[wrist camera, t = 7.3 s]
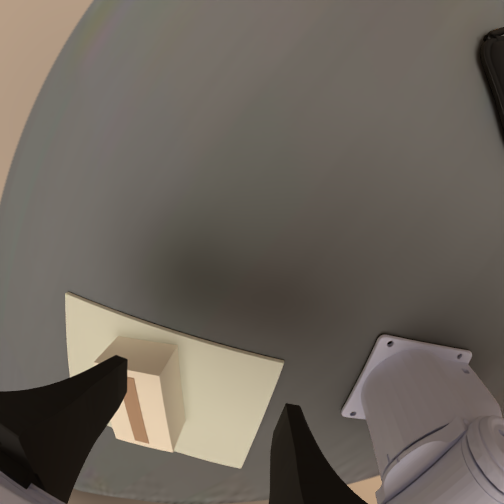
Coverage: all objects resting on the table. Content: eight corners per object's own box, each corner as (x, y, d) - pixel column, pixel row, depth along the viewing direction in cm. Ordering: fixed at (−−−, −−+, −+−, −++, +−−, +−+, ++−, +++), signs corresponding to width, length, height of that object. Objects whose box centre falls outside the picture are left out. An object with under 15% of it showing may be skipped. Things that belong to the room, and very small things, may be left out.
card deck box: (185, 420, 24) (172, 453, 20) (133, 409, 25) (115, 439, 21) (177, 345, 22) (158, 376, 18) (118, 335, 23) (93, 362, 19)
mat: (284, 360, 22) (283, 363, 22) (241, 465, 26) (240, 468, 25) (68, 291, 23) (65, 293, 22) (76, 407, 26) (74, 409, 26)
